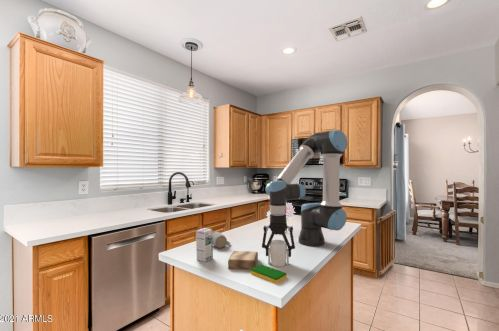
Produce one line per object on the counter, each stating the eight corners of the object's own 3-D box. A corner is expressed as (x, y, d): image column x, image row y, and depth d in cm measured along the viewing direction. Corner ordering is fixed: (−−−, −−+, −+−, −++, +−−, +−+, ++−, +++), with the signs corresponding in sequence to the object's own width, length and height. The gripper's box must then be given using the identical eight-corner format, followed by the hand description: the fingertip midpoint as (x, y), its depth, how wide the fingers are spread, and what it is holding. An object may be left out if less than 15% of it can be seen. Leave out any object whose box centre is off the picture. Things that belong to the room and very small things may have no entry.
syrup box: (205, 262, 117) (205, 231, 117) (196, 259, 120) (195, 229, 120) (213, 258, 122) (212, 228, 122) (204, 256, 125) (203, 227, 125)
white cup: (268, 261, 118) (268, 240, 118) (284, 260, 118) (284, 239, 119) (271, 267, 110) (271, 245, 110) (288, 266, 111) (288, 244, 111)
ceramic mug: (215, 249, 135) (215, 235, 135) (209, 245, 142) (210, 232, 142) (232, 246, 140) (233, 233, 140) (226, 242, 147) (226, 230, 147)
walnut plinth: (257, 259, 120) (257, 251, 120) (255, 269, 108) (255, 260, 108) (233, 258, 121) (233, 250, 121) (228, 268, 109) (228, 259, 109)
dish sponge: (261, 269, 109) (261, 263, 109) (287, 278, 100) (287, 272, 100) (250, 274, 104) (250, 268, 104) (276, 285, 95) (276, 278, 95)
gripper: (300, 212, 117) (300, 261, 117) (256, 212, 119) (257, 259, 119) (301, 215, 109) (301, 267, 109) (255, 215, 112) (255, 265, 112)
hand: (278, 263), depth 114 cm, fingers open, 8 cm apart
